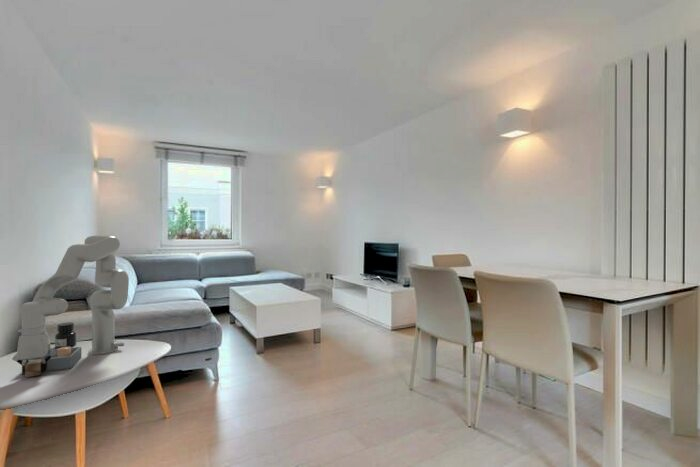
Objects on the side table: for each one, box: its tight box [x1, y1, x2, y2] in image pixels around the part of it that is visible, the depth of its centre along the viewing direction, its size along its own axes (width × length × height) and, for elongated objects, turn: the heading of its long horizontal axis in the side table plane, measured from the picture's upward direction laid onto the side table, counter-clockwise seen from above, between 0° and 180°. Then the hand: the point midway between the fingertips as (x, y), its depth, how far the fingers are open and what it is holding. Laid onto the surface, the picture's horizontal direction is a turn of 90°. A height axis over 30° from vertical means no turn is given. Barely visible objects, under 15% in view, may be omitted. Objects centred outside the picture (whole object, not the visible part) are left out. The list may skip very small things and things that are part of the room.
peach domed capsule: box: [56, 346, 72, 357], centre depth 164 cm, size 5×5×7 cm
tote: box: [21, 346, 82, 375], centre depth 162 cm, size 17×14×6 cm
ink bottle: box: [54, 321, 77, 349], centre depth 190 cm, size 10×9×12 cm
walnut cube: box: [24, 360, 43, 378], centre depth 150 cm, size 5×5×5 cm
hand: (35, 372), depth 150 cm, fingers closed on walnut cube, 5 cm apart
